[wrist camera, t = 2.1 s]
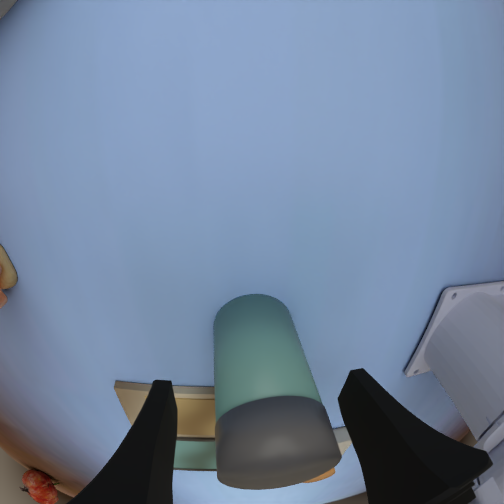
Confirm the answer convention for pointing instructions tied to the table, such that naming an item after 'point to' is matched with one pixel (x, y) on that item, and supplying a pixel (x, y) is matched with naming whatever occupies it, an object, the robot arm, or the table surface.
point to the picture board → (181, 422)
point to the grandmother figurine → (6, 275)
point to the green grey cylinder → (266, 400)
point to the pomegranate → (39, 487)
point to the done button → (322, 476)
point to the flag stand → (6, 6)
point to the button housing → (342, 439)
